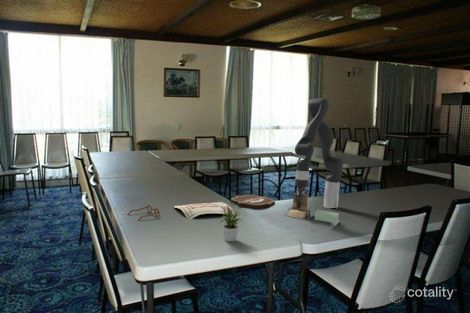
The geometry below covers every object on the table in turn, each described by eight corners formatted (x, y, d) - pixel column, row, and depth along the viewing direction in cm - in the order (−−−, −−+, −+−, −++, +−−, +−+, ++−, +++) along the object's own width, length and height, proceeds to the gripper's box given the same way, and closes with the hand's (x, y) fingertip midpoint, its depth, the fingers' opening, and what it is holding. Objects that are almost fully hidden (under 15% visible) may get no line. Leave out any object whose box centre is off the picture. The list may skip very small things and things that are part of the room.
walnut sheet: (293, 213, 221) (294, 192, 220) (306, 215, 218) (308, 194, 217) (292, 213, 220) (293, 193, 218) (305, 216, 216) (307, 195, 215)
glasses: (160, 218, 202) (160, 209, 201) (137, 221, 193) (138, 212, 192) (148, 212, 211) (148, 203, 211) (126, 215, 203) (126, 206, 202)
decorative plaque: (258, 207, 224) (220, 198, 243) (257, 212, 225) (220, 203, 244) (285, 200, 248) (248, 192, 266) (284, 205, 248) (248, 197, 267)
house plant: (205, 239, 170) (207, 204, 169) (223, 232, 182) (225, 199, 180) (231, 247, 162) (233, 210, 161) (248, 239, 174) (250, 204, 172)
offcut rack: (289, 213, 225) (289, 206, 224) (312, 217, 218) (312, 210, 218) (282, 218, 214) (283, 210, 213) (306, 222, 208) (307, 214, 207)
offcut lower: (290, 214, 218) (290, 211, 218) (305, 216, 214) (305, 214, 214) (287, 216, 214) (287, 213, 213) (303, 218, 210) (303, 216, 210)
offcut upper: (290, 211, 217) (290, 209, 217) (306, 214, 214) (306, 211, 214) (288, 213, 213) (288, 211, 213) (304, 216, 209) (304, 213, 209)
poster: (216, 209, 239) (171, 211, 225) (217, 200, 238) (171, 200, 224) (237, 218, 214) (187, 220, 200) (238, 207, 214) (188, 208, 200)
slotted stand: (317, 218, 217) (318, 209, 217) (338, 222, 212) (339, 212, 211) (313, 221, 210) (314, 212, 209) (335, 225, 205) (336, 215, 204)
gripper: (299, 176, 224) (297, 203, 226) (292, 179, 212) (289, 208, 213) (311, 177, 221) (309, 205, 223) (305, 180, 208) (302, 210, 210)
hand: (299, 207), depth 218 cm, fingers open, 5 cm apart
